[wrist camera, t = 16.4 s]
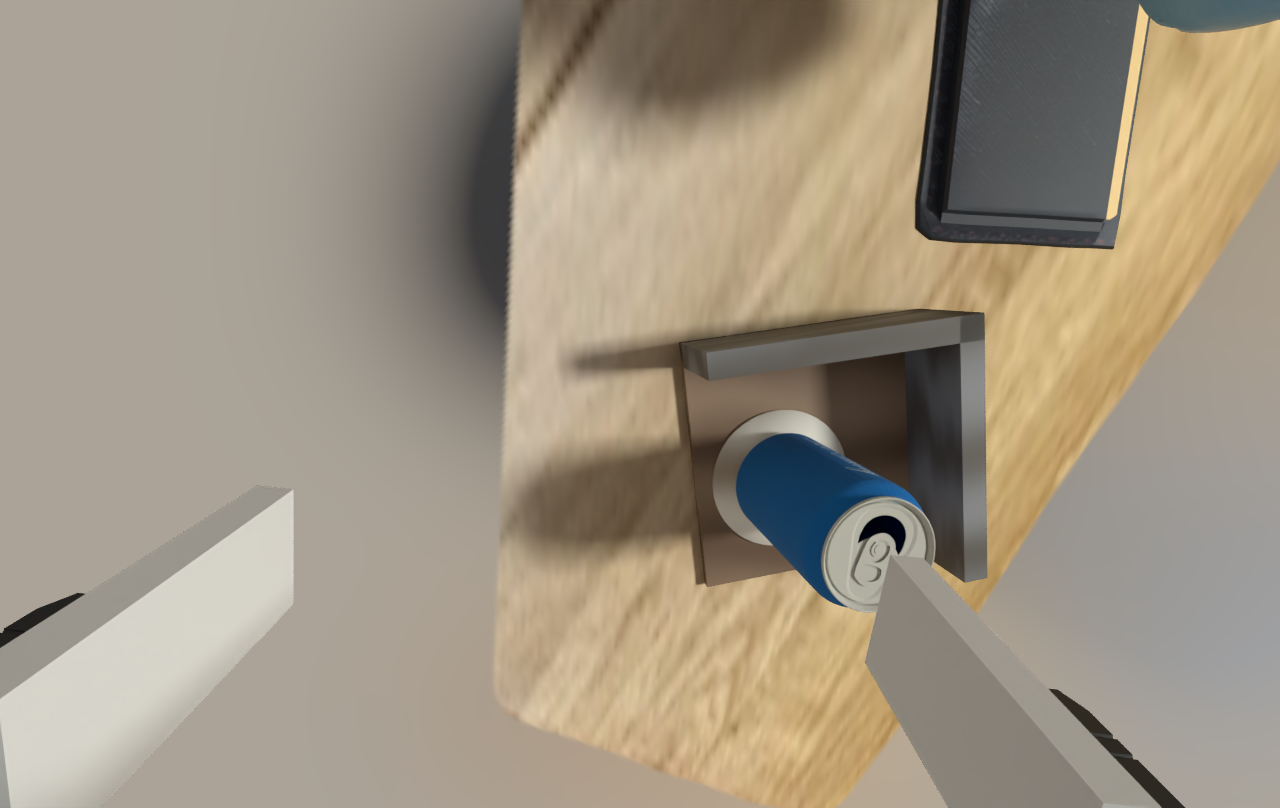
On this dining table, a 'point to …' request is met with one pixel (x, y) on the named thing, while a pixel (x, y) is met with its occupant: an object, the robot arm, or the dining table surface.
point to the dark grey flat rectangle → (1030, 121)
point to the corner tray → (844, 423)
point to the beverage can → (831, 517)
